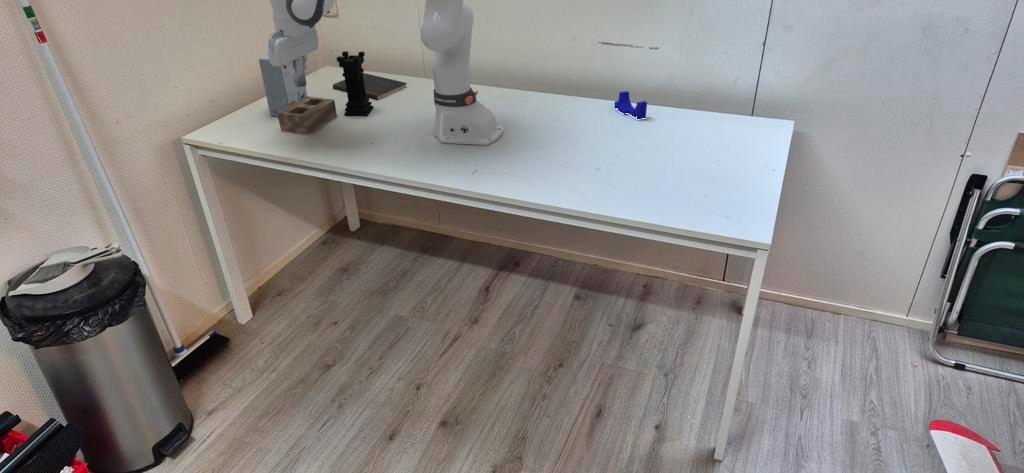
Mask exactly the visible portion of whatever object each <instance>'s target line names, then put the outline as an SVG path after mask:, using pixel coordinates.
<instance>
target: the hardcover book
mask: <svg viewBox="0 0 1024 473" xmlns="http://www.w3.org/2000/svg"><path fill="white" fill-rule="evenodd" d="M363 79H364V85H365V92H366V98H369V99H370V100H371V99H372V100H374V101H379V100H380V99H383V98H385V97H388V96H390V95H393V94H394V93H397V92H399V91H401V90H403V88H404V89H406V88H407V84H408V83H407V82H405V81H401V80H396V79H391V78H387V77H383V76H378V75H374V74H370V73H365V72H363ZM332 89H333V90H335V91H339V92H343V93H347V90H346V84H345V79H343V80H340V81H337V82H335V83H333V84H332Z"/></svg>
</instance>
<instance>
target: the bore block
mask: <svg viewBox="0 0 1024 473" xmlns="http://www.w3.org/2000/svg"><path fill="white" fill-rule="evenodd" d="M337 112H338V111H337V108H336V102H335V99H333V98H332V99H331V98H323V97H315V96H310V95H309V96H306V97H305V98H303V99H301V100H299V101H298V102H296V103H294V104H292V105H290V106H289V107H287V108H285V109H283V110H282V111H280V112H278V113H277V114H278V116H277V119H278V123H279V127H280V131H284V132H290V133H295V134H296V133H297V134H303V135H311V134H312V133H314V132H316V131H317V130H318V129H320V128H322V127H323V126H325V125H326V124H328V123H330V122H331V121H332V120H334V119H336V118H338V113H337Z"/></svg>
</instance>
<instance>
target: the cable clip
mask: <svg viewBox="0 0 1024 473" xmlns="http://www.w3.org/2000/svg"><path fill="white" fill-rule="evenodd" d="M647 106H648V102H647V101H646V100H643V101H638V102H636V105H635V108H634V106H633V105H632V102H631V100H630V92H629V91H628V90H625V91H620V92H619V93H618V100H617V101H616V100H615V101H614V107H613V109H614V108H618V110H619V111H620V112H622V113H624V114H625V113H629V114H631V115H632V116H634V117H636V116H637V119H641V118H645V117H647Z"/></svg>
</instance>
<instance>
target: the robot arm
mask: <svg viewBox="0 0 1024 473" xmlns="http://www.w3.org/2000/svg"><path fill="white" fill-rule="evenodd" d="M334 2H335V0H269V3H270V6H271V7H272V20H273V25H274V31H275V32H273V33H271V34H270V37H269V39H268V40H267V41H268V43H267V54H269V61H270V63H271V65H273V66H278V67H281V66H283V65H285V66H286V67H287V68H288V69H289V74H290V75H295V74H297V70H296V68H294V67H293V65H292V64H293V61H294V60H296V59H298V58H299V57H300V56H301V57H302V61H303V67H304V71H305V70H306V69H307V68H308V67H307V61H308V54H310V53H312V52H315V51H316V50H318V48H319V45H320V42H319V35H318V31H317V28H316V26H317V24H319V22H320V21H321V19H322V18H323V16H324V15H326V13H328V12H329V11H330V10H331V9H332V7H333V5H334ZM423 12H424V13H423V21H422V25H421V28H420V39H421V42H422V44H423V45H424V46H425V47H426V48H427V49H428V50H430V51H432V52H434V59H433V62H432V73H433V85H434V86H433V87H434V88H433V101H434V106H435V118H434V125H433V130H432V133H433V135H434V136H435V137H437V138H438V140H439V142H440V143H443V144H456V145H457V144H459V145H460V144H462V145H478V146H479V145H481V146H487V145H490V144H493V143H495V142H496V141H497V140H499V139H500V138H501V136H502V135H503V133H504V127H503V126H502V125H499V124H497V121H496V118H495V117H496V116H495V114H494V112H492V111H491V110H490V109H489V108H487V106H485V105H484V104H482V103H481V102H480V101H478V100H477V95H478V94H479V93H478V92H479V91H478V90H476V91H475V92H474V90H473V88H472V87H471V78H470V77H471V75H470V58H471V57H470V55H471V48H472V47H471V46H472V34H473V32H472V30H473V25H474V20H475V16H474V12H473V10H472V9H471V7H470V6H469V4H467V3H465V2H464V0H425V5H424V11H423Z"/></svg>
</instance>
